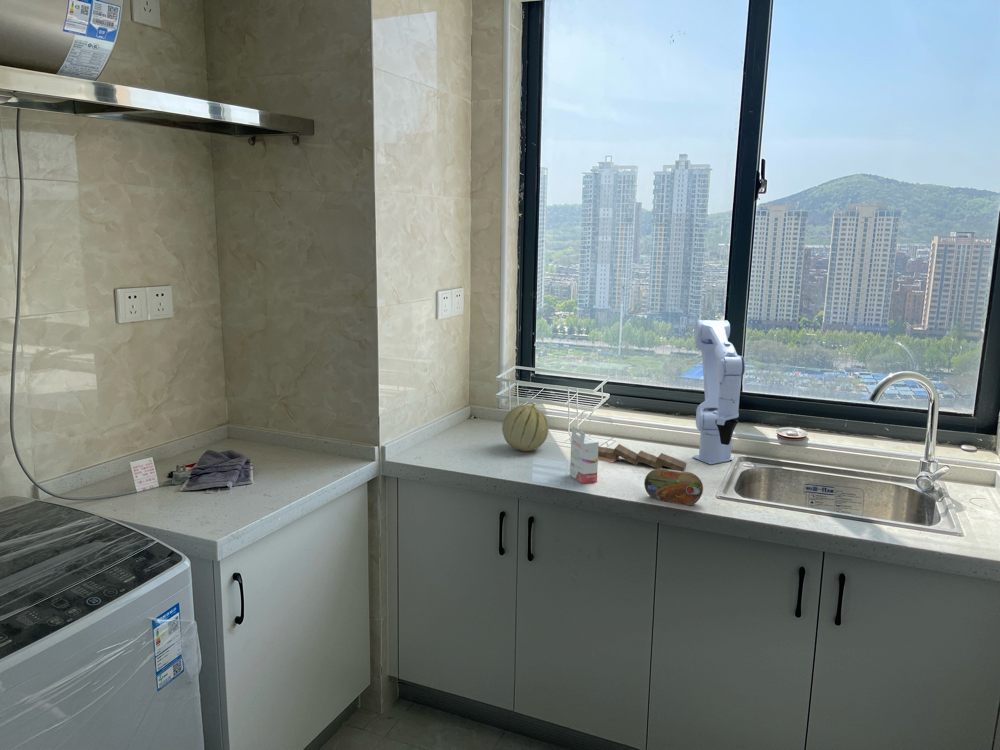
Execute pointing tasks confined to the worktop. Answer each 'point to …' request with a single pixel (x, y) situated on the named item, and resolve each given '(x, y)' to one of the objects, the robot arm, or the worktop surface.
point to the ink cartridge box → (583, 457)
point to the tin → (673, 486)
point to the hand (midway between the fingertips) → (725, 443)
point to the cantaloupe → (525, 428)
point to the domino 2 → (607, 459)
